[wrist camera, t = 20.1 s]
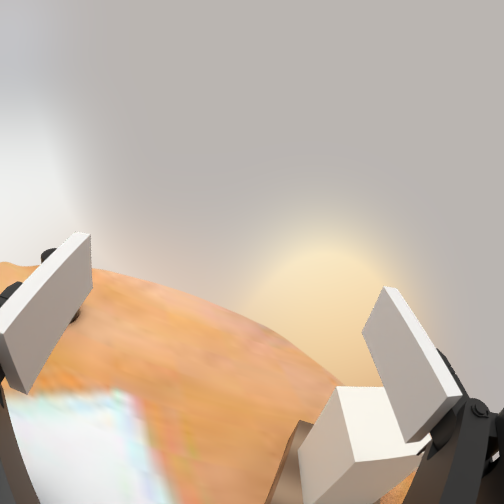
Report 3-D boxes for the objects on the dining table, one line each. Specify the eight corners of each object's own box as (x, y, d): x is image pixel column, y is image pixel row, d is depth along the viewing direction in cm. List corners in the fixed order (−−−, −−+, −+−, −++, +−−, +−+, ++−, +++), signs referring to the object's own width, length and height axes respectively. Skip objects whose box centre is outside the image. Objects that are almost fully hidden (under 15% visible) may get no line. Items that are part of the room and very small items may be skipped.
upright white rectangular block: (372, 503, 24) (435, 450, 19) (304, 510, 24) (355, 462, 19) (359, 449, 32) (408, 386, 26) (297, 450, 31) (336, 386, 26)
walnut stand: (353, 547, 22) (374, 537, 20) (255, 526, 25) (265, 515, 23) (368, 461, 35) (385, 443, 32) (288, 439, 37) (299, 419, 35)
